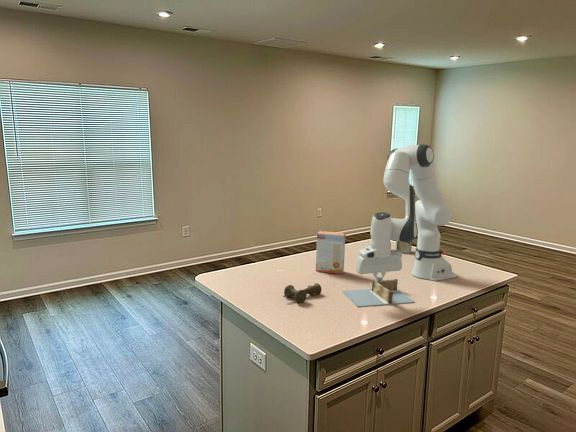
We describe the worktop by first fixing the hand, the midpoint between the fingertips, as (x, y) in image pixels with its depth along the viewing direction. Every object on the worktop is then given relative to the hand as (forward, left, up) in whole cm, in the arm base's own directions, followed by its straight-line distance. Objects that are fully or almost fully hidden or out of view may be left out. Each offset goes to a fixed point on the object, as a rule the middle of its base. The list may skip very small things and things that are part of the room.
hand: (378, 281), depth 189 cm
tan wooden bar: (-4, -3, -8) cm, 10 cm away
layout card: (-3, -5, -9) cm, 11 cm away
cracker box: (+7, -42, -10) cm, 44 cm away
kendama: (+32, -10, -10) cm, 35 cm away
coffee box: (-51, -70, -10) cm, 87 cm away
